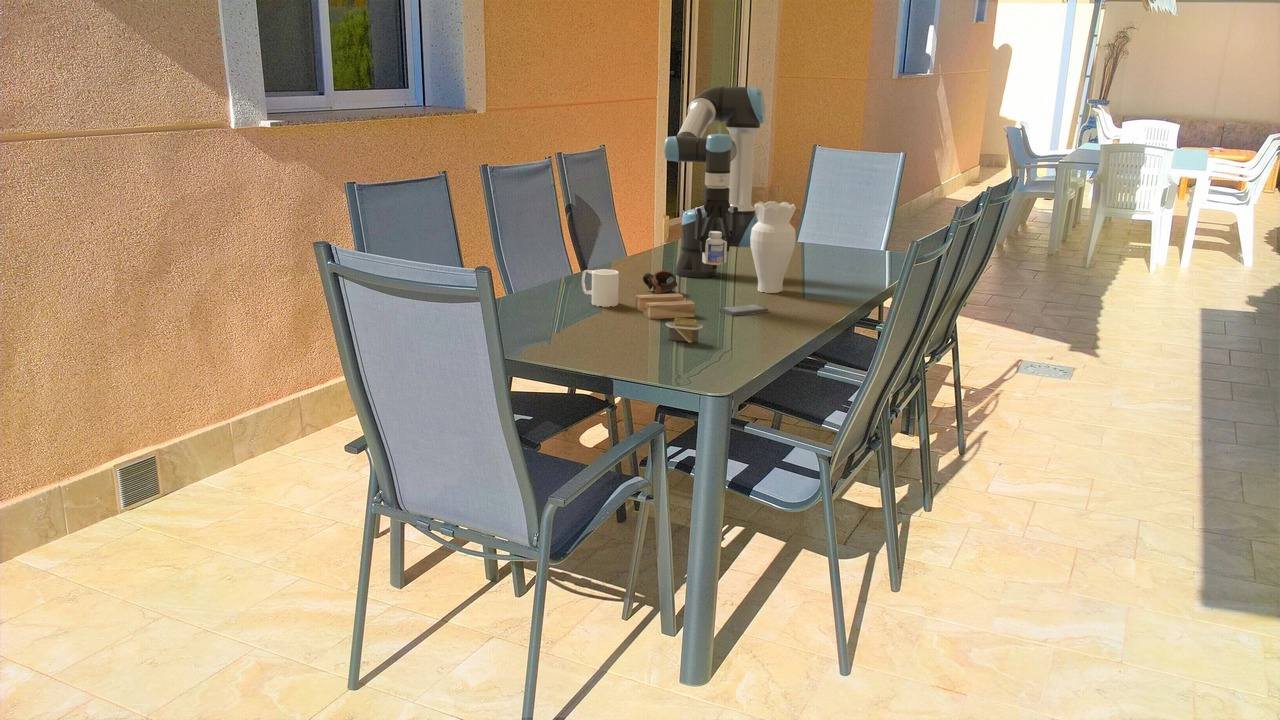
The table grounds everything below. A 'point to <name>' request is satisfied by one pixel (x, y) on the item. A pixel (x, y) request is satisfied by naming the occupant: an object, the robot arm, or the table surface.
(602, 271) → the cup
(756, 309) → the phone slab
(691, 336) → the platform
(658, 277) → the pottery mug
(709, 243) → the pill bottle
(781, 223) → the vase
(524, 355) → the table surface
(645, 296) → the socket holder
